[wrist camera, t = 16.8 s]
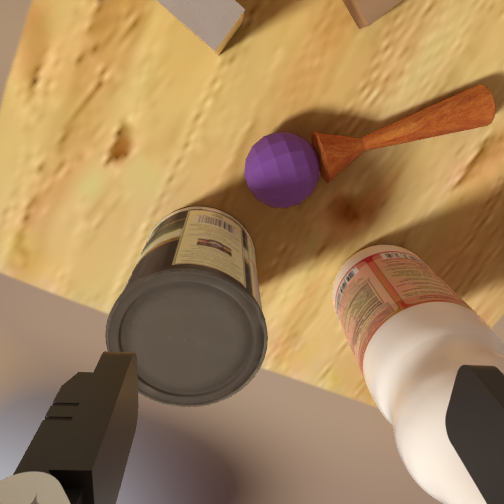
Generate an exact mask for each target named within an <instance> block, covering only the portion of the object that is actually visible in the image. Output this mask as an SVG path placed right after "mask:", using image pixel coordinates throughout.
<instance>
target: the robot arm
mask: <svg viewBox="0 0 504 504" xmlns="http://www.w3.org/2000/svg"><path fill="white" fill-rule="evenodd" d="M137 417H138V376H137V355H136V353H135V352H106V351H105V352H103V354H102V355H101V358H100V360H99V362H98V364H97V366H96V368H95V371H94V373H90V372H78V373H77V374H76V375H75V376H73V377H72V378H71V379H70V380H68V381H67V382H66V383H65V384H64V385H62V386H61V388H60V390H59V392H58V394H57V396H56V398H55V399H54V401H53V405H52V406H51V407H50V409H49V410H48V412H47V414H46V416H45V420H43V421H42V423H41V425H40V427H39V429H38V431H37V432H36V434H35V436H34V438H33V440H32V441H31V443H30V445H29V447H28V449H27V451H26V452H25V454H24V456H23V458H22V460H21V462H20V464H19V465H18V467H17V469H16V471H15V472H14V474H13V475H12V476H10V477H7V478H5V479H3V480H1V481H0V504H116V501H117V497H118V493H119V490H120V486H121V482H122V479H123V475H124V471H125V467H126V464H127V460H128V456H129V453H130V449H131V445H132V442H133V438H134V434H135V430H136V425H137ZM445 426H446V432H447V435H448V438H449V440H450V442H451V444H452V446H453V447H454V449H455V451H456V452H457V454H458V456H459V457H460V459H461V461H462V463H463V464H464V466H465V468H466V469H467V471H468V473H469V474H470V476H471V478H472V479H473V481H474V483H475V484H476V486H477V488H478V490H479V491H480V493H481V495H482V496H483V498H484V500H485V501H486V503H487V504H504V374H503V373H502V372H501V371H500V370H499V369H498V368H497V367H495V366H485V365H462V366H461V367H460V368H459V369H458V371H457V375H456V378H455V382H454V386H453V389H452V393H451V397H450V400H449V404H448V408H447V412H446V417H445Z"/></svg>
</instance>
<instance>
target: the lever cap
mask: <svg viewBox="0 0 504 504" xmlns="http://www.w3.org/2000/svg"><path fill="white" fill-rule="evenodd" d="M157 1H158V2H159V3H160V4H161V5H162V6H163V7H164V8H165V9H166V10H167V11H168V12H169V13H170V14H171V15H172V16H173V17H174V18H175V19H177V20H178V21H179V22H180V23H181V24H182V25H183V26H185V27H186V28H187V29H188V30H189V31H190V32H192V33H193V34H194V35H195V36H196V37H197V38H198V39H200V40H201V41H202V42H203V43H204V44H205V45H207V46H208V47H209V48H210V49H211V50H212V51H213V52H215V53H216V54H217V55H218V56H219V54H220V53H221V52H222V50H223V49H224V47H225V46H226V45H227V43H228V42H229V41H230V39H231V38H232V37H233V35H234V34H235V32H236V31H237V30H238V28H239V27H240V26H241V24H242V22H243V17H244V13H245V9H244V8H243V7H242V6H241V5H240V4H239V3H238V2H236V1H235V0H157Z"/></svg>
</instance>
